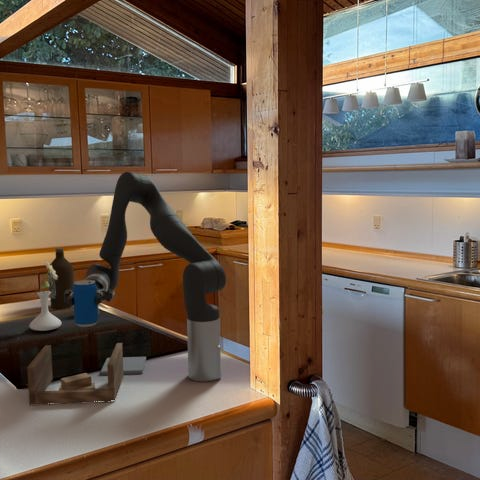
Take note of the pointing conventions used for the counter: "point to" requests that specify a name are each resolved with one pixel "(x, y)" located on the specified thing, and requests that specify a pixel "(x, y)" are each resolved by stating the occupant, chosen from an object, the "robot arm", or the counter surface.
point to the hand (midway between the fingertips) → (84, 301)
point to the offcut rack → (43, 376)
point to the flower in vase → (45, 308)
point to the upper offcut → (76, 381)
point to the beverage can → (85, 303)
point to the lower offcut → (83, 387)
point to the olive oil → (60, 280)
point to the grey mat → (128, 365)
